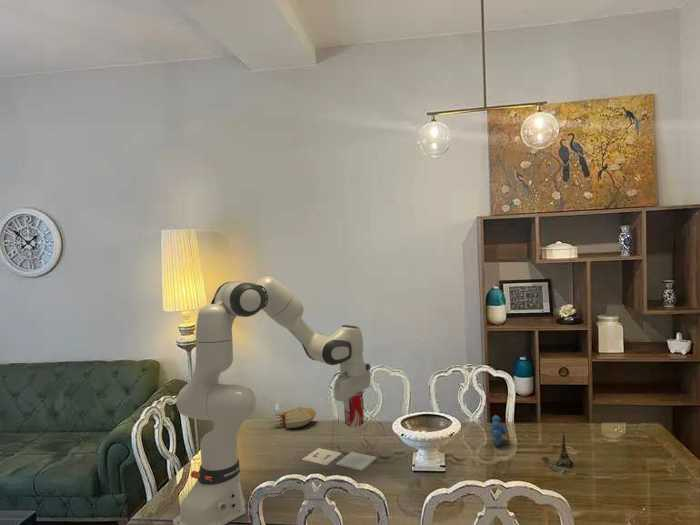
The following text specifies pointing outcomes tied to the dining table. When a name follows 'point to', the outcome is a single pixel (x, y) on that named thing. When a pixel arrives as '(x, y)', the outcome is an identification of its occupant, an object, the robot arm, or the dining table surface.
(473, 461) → the dining table surface
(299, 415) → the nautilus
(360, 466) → the coaster
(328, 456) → the card
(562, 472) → the eiffel tower figurine
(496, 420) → the blue figurine
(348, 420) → the soda can
